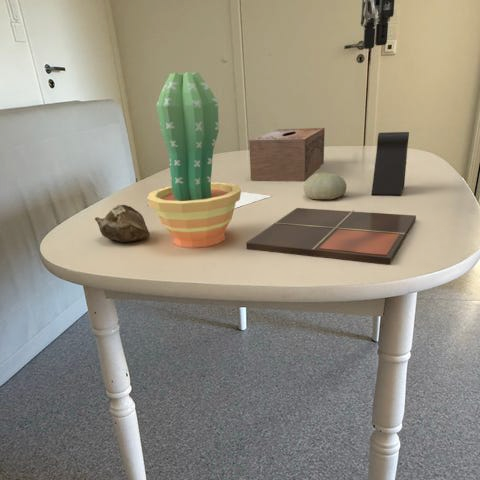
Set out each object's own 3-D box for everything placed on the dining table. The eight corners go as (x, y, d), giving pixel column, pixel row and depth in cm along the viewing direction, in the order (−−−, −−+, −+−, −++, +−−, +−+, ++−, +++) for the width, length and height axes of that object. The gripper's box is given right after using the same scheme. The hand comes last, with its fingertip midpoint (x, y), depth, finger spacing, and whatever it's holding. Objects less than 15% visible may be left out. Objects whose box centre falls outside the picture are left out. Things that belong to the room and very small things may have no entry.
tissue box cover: (277, 163, 139) (276, 129, 135) (323, 163, 135) (324, 127, 130) (250, 180, 118) (248, 140, 114) (304, 181, 113) (304, 139, 109)
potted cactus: (250, 225, 81) (242, 68, 70) (235, 254, 68) (222, 66, 56) (170, 226, 84) (149, 75, 72) (140, 254, 71) (108, 75, 59)
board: (415, 221, 78) (416, 214, 77) (390, 264, 61) (390, 257, 60) (296, 212, 87) (296, 207, 87) (246, 248, 70) (245, 242, 70)
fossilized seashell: (84, 226, 78) (110, 247, 72) (98, 191, 77) (126, 209, 71) (120, 238, 84) (147, 258, 78) (134, 205, 83) (162, 223, 77)
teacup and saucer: (233, 196, 103) (232, 178, 101) (209, 203, 98) (207, 184, 96) (207, 192, 109) (205, 175, 107) (183, 199, 103) (180, 181, 102)
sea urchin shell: (331, 180, 102) (344, 157, 95) (342, 210, 100) (357, 189, 93) (294, 185, 100) (305, 162, 93) (305, 215, 98) (317, 194, 91)
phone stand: (400, 196, 94) (406, 134, 88) (371, 195, 96) (375, 135, 90) (404, 187, 101) (410, 129, 95) (377, 186, 103) (381, 130, 97)
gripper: (413, -64, 80) (404, 42, 87) (388, -43, 92) (381, 48, 100) (371, -60, 80) (366, 45, 87) (351, -41, 92) (348, 50, 100)
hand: (374, 47), depth 94 cm, fingers open, 8 cm apart
